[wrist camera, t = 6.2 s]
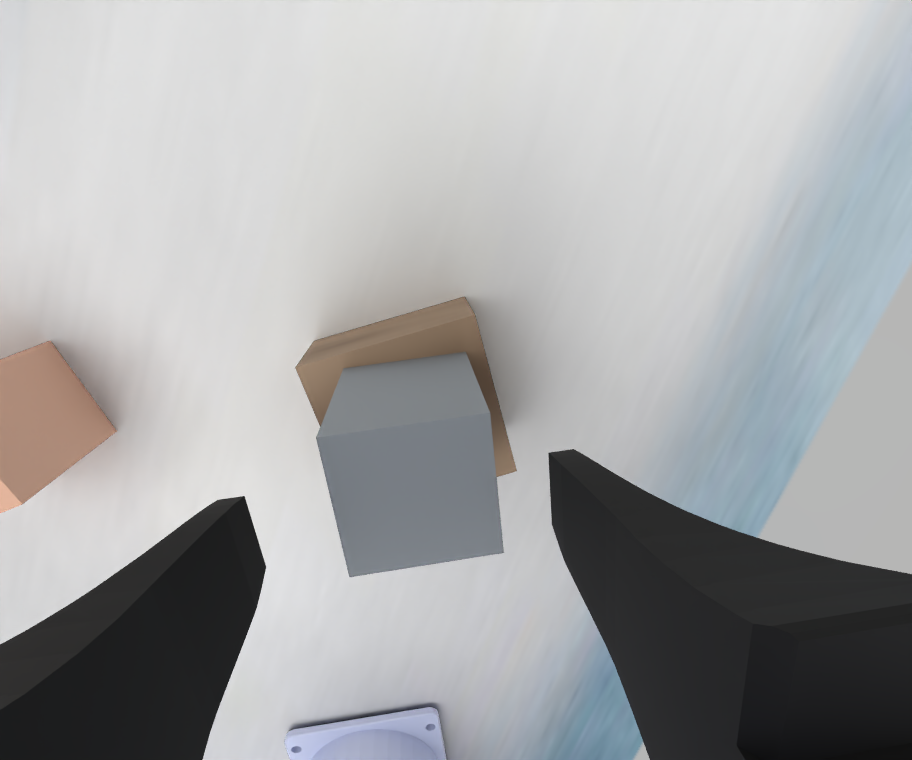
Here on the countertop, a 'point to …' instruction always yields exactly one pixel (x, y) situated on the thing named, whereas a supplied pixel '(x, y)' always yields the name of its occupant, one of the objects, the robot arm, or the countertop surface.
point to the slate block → (411, 464)
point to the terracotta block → (43, 422)
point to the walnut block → (406, 358)
